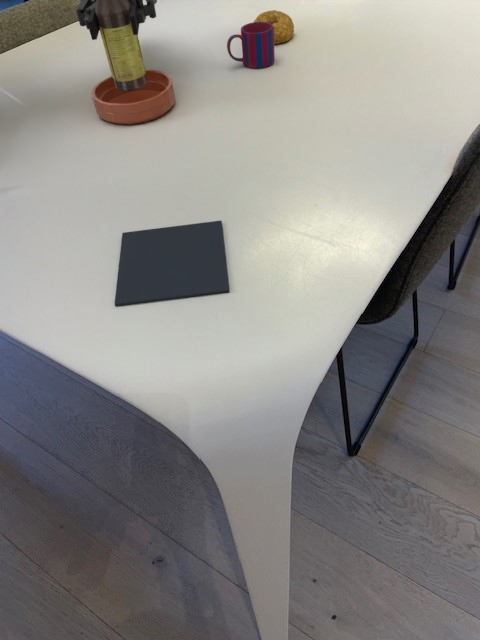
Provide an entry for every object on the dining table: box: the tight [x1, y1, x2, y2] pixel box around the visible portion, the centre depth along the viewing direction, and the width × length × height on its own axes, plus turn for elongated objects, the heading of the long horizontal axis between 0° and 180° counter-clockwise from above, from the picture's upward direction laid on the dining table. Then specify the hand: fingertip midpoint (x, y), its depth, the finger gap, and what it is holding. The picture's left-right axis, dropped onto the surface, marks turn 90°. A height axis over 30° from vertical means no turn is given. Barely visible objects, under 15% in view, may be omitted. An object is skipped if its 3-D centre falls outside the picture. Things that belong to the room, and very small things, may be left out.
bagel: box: [253, 9, 295, 45], centre depth 112 cm, size 10×11×5 cm
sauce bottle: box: [95, 0, 147, 92], centre depth 85 cm, size 6×6×20 cm
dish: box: [91, 69, 176, 125], centre depth 94 cm, size 15×15×4 cm
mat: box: [114, 220, 230, 307], centre depth 64 cm, size 14×14×1 cm
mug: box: [226, 21, 275, 70], centre depth 103 cm, size 7×10×7 cm
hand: (112, 28), depth 81 cm, fingers closed on sauce bottle, 6 cm apart
